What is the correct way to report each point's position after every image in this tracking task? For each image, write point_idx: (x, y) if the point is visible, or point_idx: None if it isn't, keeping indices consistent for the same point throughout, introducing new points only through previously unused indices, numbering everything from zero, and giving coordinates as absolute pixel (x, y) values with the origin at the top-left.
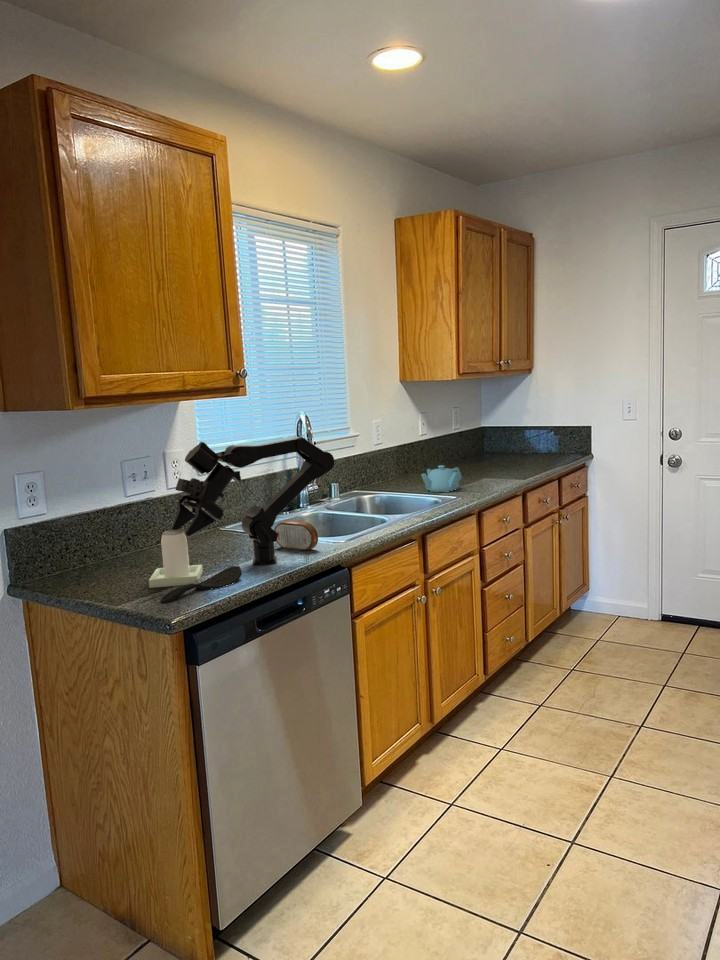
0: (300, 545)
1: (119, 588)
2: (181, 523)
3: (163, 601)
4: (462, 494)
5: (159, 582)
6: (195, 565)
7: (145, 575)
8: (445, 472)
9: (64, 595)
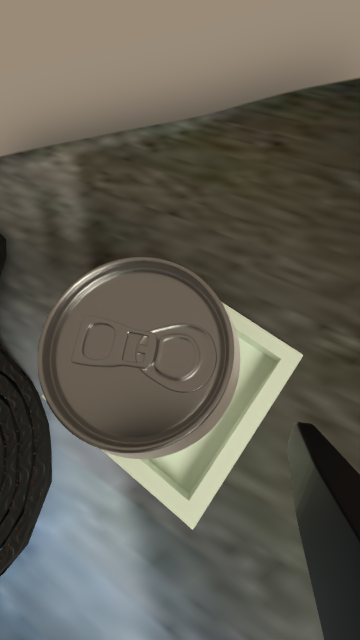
0: None
1: (235, 214)
2: (326, 578)
3: None
4: None
5: None
6: (205, 497)
7: (335, 334)
8: None
9: (291, 105)
